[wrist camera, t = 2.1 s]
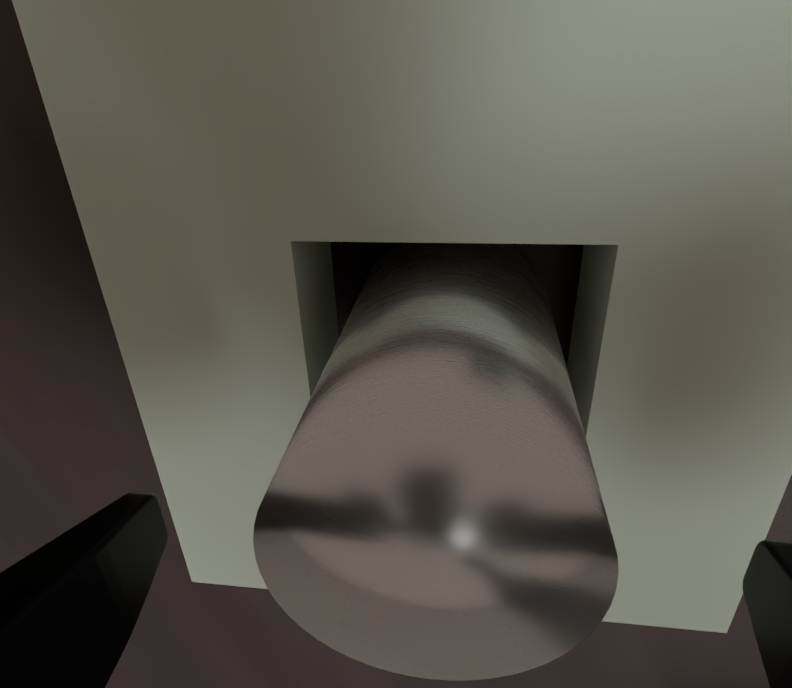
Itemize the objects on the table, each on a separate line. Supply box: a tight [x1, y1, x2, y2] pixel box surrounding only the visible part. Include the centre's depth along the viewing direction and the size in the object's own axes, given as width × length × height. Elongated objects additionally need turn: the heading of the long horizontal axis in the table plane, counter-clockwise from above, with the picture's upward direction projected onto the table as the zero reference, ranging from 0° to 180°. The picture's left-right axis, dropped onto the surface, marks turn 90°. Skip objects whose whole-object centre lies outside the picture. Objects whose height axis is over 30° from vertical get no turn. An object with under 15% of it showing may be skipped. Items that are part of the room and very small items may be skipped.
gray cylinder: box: [253, 242, 619, 680], centre depth 11 cm, size 5×5×8 cm
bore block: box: [12, 0, 792, 633], centre depth 13 cm, size 15×15×3 cm
